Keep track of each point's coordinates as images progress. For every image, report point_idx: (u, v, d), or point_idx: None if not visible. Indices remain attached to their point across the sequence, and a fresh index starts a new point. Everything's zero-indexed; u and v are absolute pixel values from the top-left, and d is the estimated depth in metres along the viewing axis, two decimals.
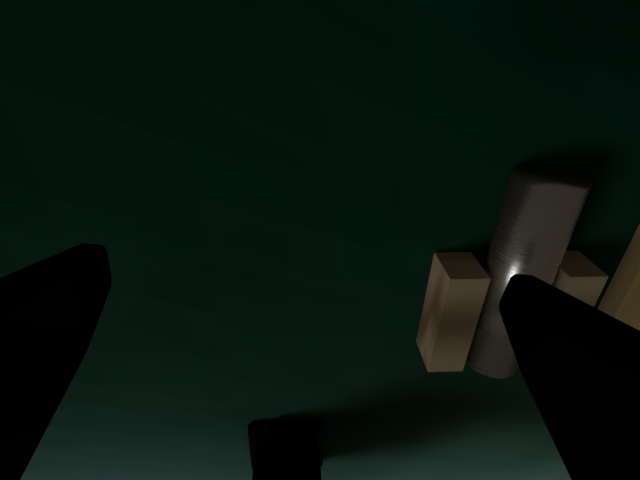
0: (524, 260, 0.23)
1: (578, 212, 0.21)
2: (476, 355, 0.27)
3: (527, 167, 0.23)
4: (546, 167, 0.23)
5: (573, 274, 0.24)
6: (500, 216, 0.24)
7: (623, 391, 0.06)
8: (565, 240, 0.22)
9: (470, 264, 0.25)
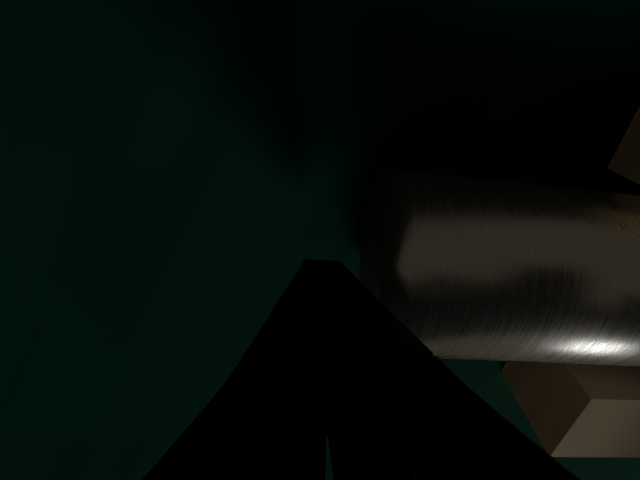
0: (603, 355, 0.08)
1: (488, 248, 0.07)
2: None
3: (363, 260, 0.10)
4: (370, 216, 0.10)
5: None
6: None
7: (352, 382, 0.06)
8: (576, 266, 0.07)
9: (546, 368, 0.12)
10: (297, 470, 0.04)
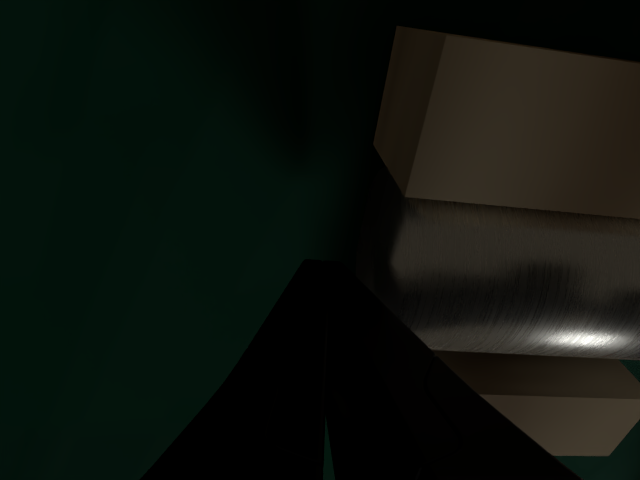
0: (593, 347, 0.08)
1: (478, 240, 0.07)
2: None
3: (359, 256, 0.10)
4: (365, 213, 0.10)
5: (406, 169, 0.07)
6: None
7: (354, 382, 0.06)
8: (563, 258, 0.07)
9: None
10: (295, 471, 0.04)
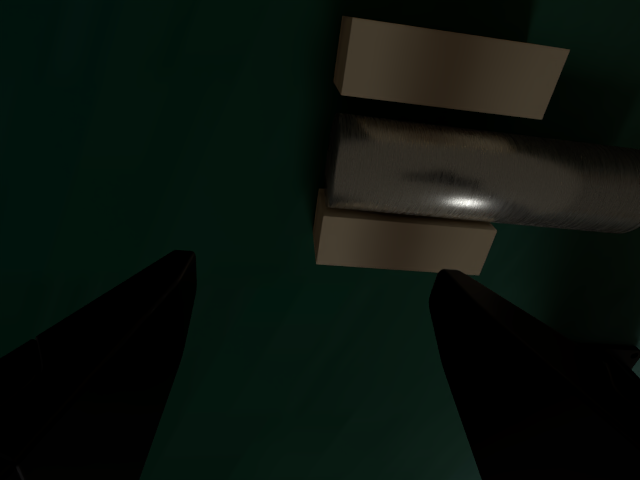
0: (429, 214, 0.17)
1: (372, 167, 0.15)
2: None
3: (327, 153, 0.18)
4: (332, 130, 0.18)
5: (342, 82, 0.15)
6: None
7: (522, 388, 0.06)
8: (413, 176, 0.16)
9: (318, 213, 0.19)
10: None
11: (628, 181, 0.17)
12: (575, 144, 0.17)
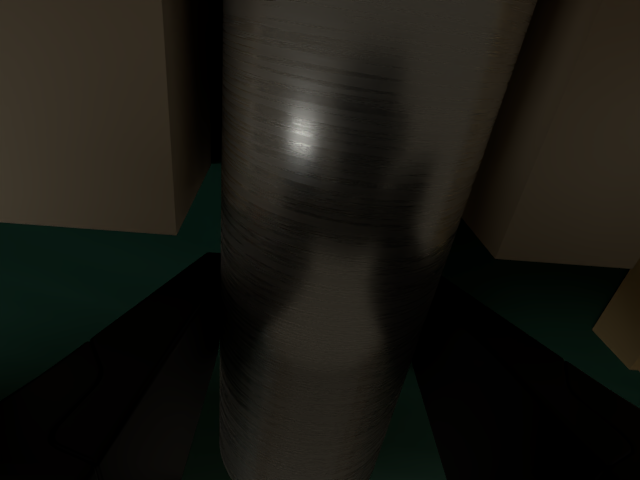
0: None
1: None
2: (227, 434, 0.08)
3: None
4: None
5: None
6: None
7: (482, 387, 0.06)
8: None
9: None
10: (58, 469, 0.03)
11: (376, 444, 0.08)
12: None
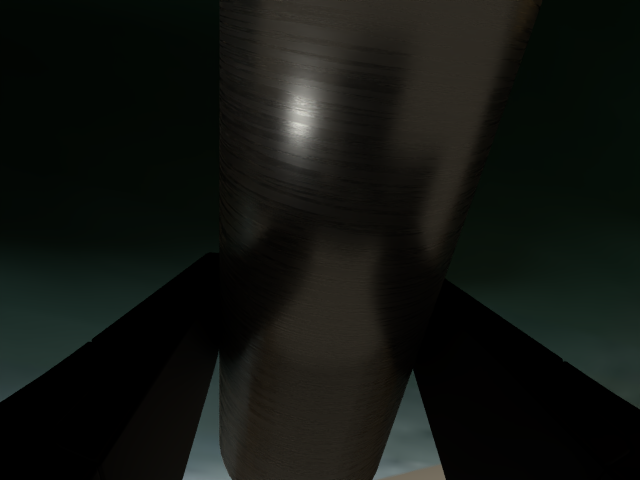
0: None
1: None
2: (227, 433, 0.08)
3: None
4: None
5: None
6: None
7: (481, 387, 0.06)
8: None
9: None
10: (61, 470, 0.03)
11: (380, 443, 0.08)
12: None
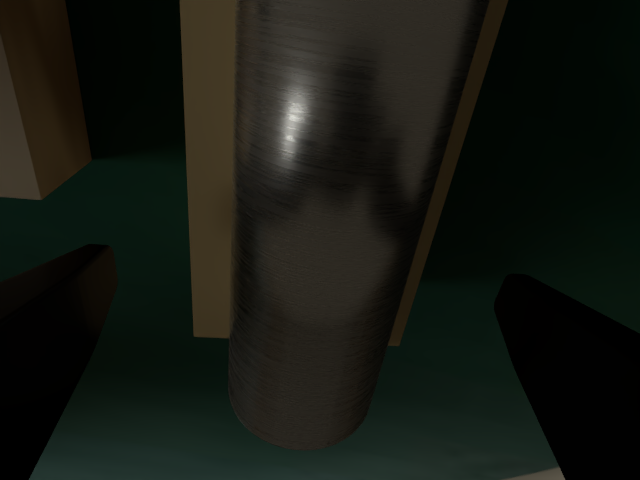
0: None
1: None
2: (238, 380, 0.09)
3: None
4: None
5: None
6: None
7: (616, 391, 0.06)
8: None
9: None
10: None
11: (370, 383, 0.09)
12: None
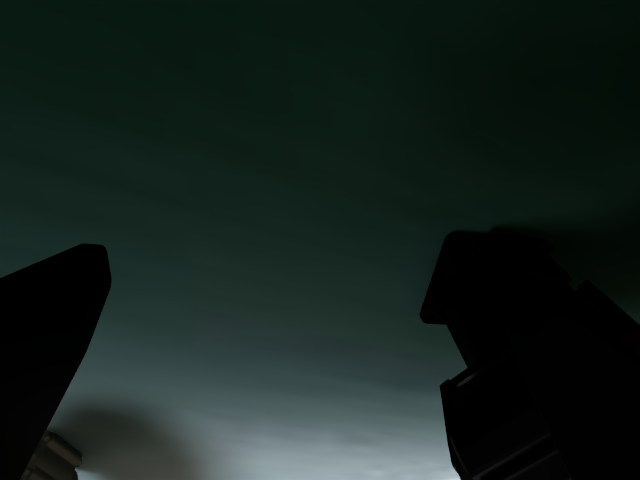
0: None
1: None
2: None
3: None
4: None
5: None
6: None
7: (623, 391, 0.06)
8: None
9: None
10: None
11: None
12: None
